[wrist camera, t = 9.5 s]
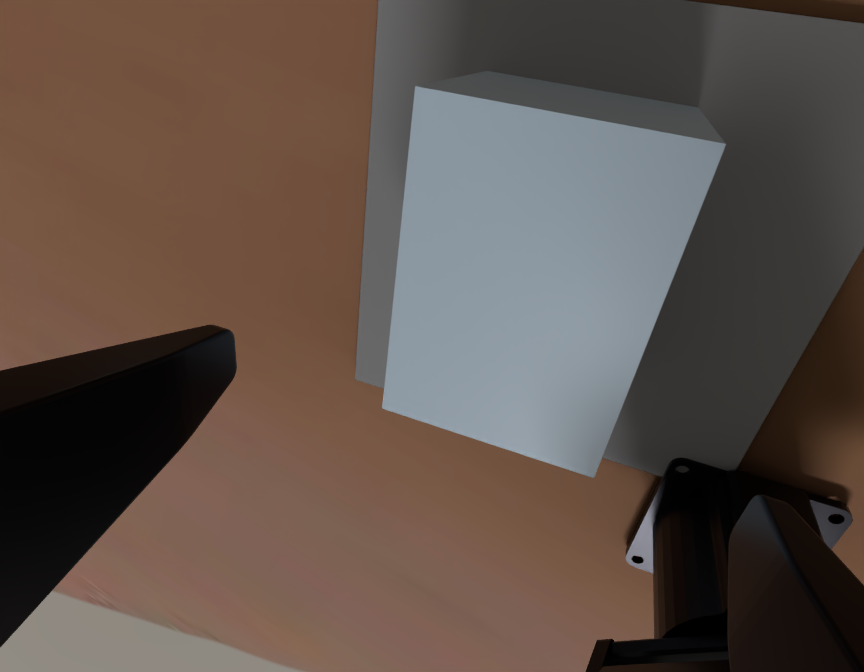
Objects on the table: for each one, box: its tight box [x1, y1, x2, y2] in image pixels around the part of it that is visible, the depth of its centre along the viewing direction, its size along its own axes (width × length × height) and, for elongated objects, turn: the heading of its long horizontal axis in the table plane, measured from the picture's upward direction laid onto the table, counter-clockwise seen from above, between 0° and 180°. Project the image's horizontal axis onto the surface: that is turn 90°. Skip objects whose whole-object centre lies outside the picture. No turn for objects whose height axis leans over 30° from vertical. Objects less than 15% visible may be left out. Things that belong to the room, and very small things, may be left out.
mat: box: [355, 0, 864, 477], centre depth 19 cm, size 16×16×1 cm
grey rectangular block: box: [382, 71, 726, 478], centre depth 16 cm, size 9×6×6 cm
